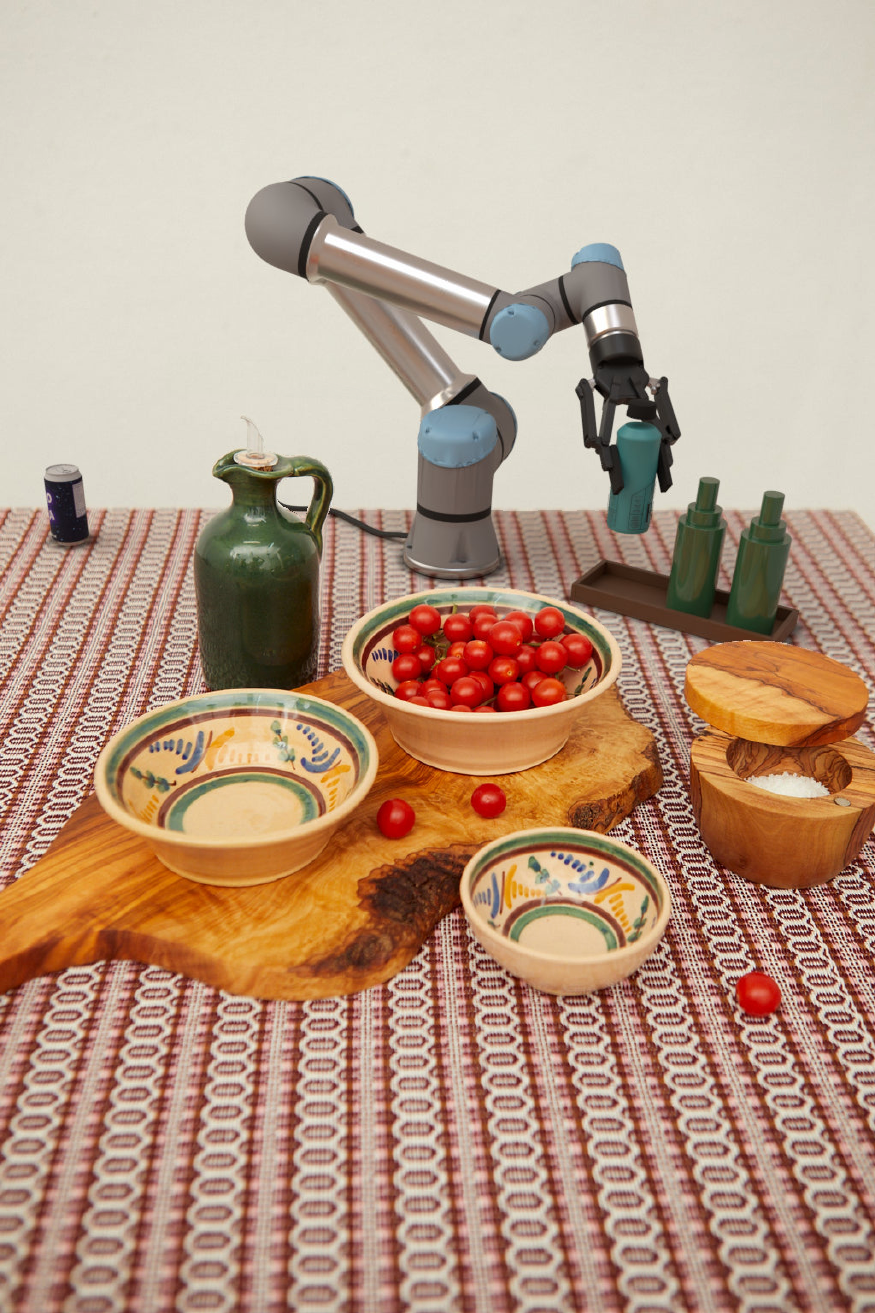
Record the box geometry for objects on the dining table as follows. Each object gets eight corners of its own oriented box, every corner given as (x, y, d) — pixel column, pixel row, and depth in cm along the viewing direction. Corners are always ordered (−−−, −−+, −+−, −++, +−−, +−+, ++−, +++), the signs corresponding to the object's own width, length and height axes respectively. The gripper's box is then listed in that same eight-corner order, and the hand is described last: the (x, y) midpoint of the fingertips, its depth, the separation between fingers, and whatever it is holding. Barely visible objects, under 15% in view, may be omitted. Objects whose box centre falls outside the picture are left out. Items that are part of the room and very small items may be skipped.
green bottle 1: (657, 613, 159) (677, 481, 149) (674, 596, 164) (694, 468, 154) (702, 625, 156) (725, 491, 146) (718, 608, 161) (741, 478, 151)
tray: (569, 599, 163) (571, 583, 162) (602, 573, 172) (603, 558, 170) (772, 657, 149) (775, 640, 148) (796, 626, 158) (799, 609, 157)
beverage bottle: (648, 547, 157) (667, 409, 147) (601, 541, 158) (618, 404, 148) (649, 530, 163) (668, 397, 153) (604, 525, 164) (621, 392, 154)
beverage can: (74, 531, 178) (65, 460, 173) (97, 540, 176) (88, 468, 170) (45, 541, 174) (34, 469, 169) (68, 550, 172) (58, 477, 166)
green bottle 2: (717, 629, 155) (741, 495, 145) (733, 612, 160) (757, 481, 150) (764, 642, 151) (792, 506, 142) (779, 624, 157) (806, 492, 147)
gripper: (665, 357, 165) (696, 497, 159) (542, 360, 161) (568, 504, 155) (685, 329, 158) (718, 475, 152) (557, 331, 154) (585, 481, 148)
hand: (642, 489), depth 153 cm, fingers closed on beverage bottle, 6 cm apart
